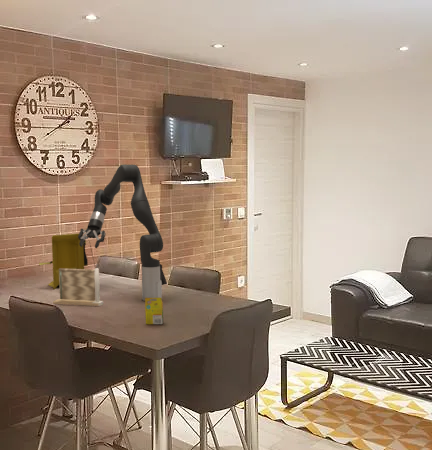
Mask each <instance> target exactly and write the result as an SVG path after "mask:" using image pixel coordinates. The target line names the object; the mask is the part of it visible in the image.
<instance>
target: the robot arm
mask: <svg viewBox="0 0 432 450" xmlns="http://www.w3.org/2000/svg"><path fill="white" fill-rule="evenodd" d="M121 183H132V184H133V188H134V189H133V190H134V191H133V194H132V197H131V199H130V200H131V201H130V206H131V211H132V213H133V216H134V218H135V219H136V220H137V221H138V222H139V223H141V224H142V225H143V226H144V227H145V229H146V230H147V232H148V234H142V235H141V236H140V238H139V253H140V255H139V256H140V263H141V294H142V295H141V299H142V301H144V302H145V298H162V299H163V289H162V287H163V285H162V281H161V280H160V264H161V262H160V259H158V258H154V257H152V255H151V253H152V254H153V253H159V252H161V251H162V250H164V241H163V238H162V235H161V232H160V230H159V227H158V225H157V223H156V221H155V218H154V215H153V212H152V208H151V206H150V203H149V200H148V197H147V195H146V194H147V193H146V191H145V187H144V183H143V178H142V174H141V170H140V168H139V166H138V165H137V164H121V165H119V166H118V167H117V169H116V171H115V173H114V174H113V177H112V178H111V181H110V182H109V183H108V184H107V185H106V186H105V187H104V189H98V190H97V191H96V192H95V194H94V207H93V210H92V213H91V215H90V218H89V221H88V223H87V224H88V225H87V228H86V229H84V228H80V230H79V233H78V234H79V235H78V238H79V240H80V243H79V245H80V246H81V247H82V246H83V243H84V240H89V239H96V241H95V244H94V248H95V249H98V248H99V246H100V243H103V242H104V241H105V240H106V239H105V238H106V231H105V230H102V228H103V224H104V222H105V217H106V214H107V211H108V210H107V209H108V207H107V206H110V205H112V204H113V201H114V199H115V196H116V195H117V194H118V193H119V192H120V191H121V188H122V186H121ZM101 230H102V231H101ZM99 236H100V238H99ZM156 300H157V299H150V301H156Z"/></svg>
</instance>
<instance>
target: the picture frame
mask: <svg viewBox="0 0 432 450" xmlns="http://www.w3.org/2000/svg"><path fill="white" fill-rule="evenodd" d="M94 270H95V271H94V277H95V301H85V300H65V299H60V298H57V299H56V300H53V301H52V305H66V306H69V305H70V306H88V307H90V306H91V307H100V306H102V305H104V300H101V299H100V298H101V296H100V269H99V268H98V267H94Z"/></svg>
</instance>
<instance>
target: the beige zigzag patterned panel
mask: <svg viewBox="0 0 432 450" xmlns="http://www.w3.org/2000/svg"><path fill="white" fill-rule="evenodd" d="M94 270H95V269H90V268H89V269H87V268H86V269H85V268H84V269H63V268H59V285H58V286H59V299H64V300H84V301H96V298H95V271H94Z"/></svg>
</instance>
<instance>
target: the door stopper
mask: <svg viewBox="0 0 432 450" xmlns="http://www.w3.org/2000/svg"><path fill="white" fill-rule="evenodd" d="M160 280H161V281H162V286H163V285H164V286H165V285H168V283H167V279H166V276H165V273H164V270H163V265H162V264H161V263H160Z"/></svg>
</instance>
